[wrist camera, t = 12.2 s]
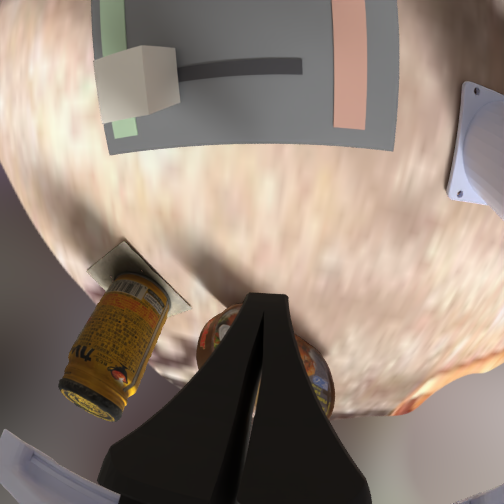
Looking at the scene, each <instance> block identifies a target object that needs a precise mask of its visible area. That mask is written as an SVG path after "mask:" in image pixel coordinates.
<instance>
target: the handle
mask: <svg viewBox="0 0 504 504" xmlns="http://www.w3.org/2000/svg"><path fill="white" fill-rule="evenodd" d="M93 62H94V71H95V80H96V87H97V95H98V101H99V108H100V114H101V119H102V124H105V123H109V122H114V121H118V120H123V119H128V118H133V117H139V116H144V115H150V114H152V113H155V112H157V111H160V110H162V109H165V108H167V107H170V106H173V105H175V104H178V103H180V94H179V84H178V74H177V63H176V51H175V48H171V47H160V46H146V45H141V46H137V47H133V48H130V49H127V50H123V51H120V52H117V53H114V54H111V55H108V56H105V57H102V58H100V59H97V60H94V61H93Z"/></svg>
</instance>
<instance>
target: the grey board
mask: <svg viewBox="0 0 504 504" xmlns="http://www.w3.org/2000/svg"><path fill="white" fill-rule="evenodd" d="M91 13H92V35H93V49H94V60H97V59H100V58H102V57H105V56H108V55H111V54H114V53H117V52H120V51H123V50H127V49H130V48H133V47H137V46H141V45H146V46H160V47H171V48H175V51H176V63H177V74H178V84H179V94H180V103H178V104H175V105H173V106H170V107H167V108H165V109H162V110H160V111H157V112H155V113H152V114H150V115H144V116H139V117H133V118H128V119H123V120H118V121H114V122H109V123H105V124H104V130H105V135H106V140H107V145H108V150H109V154H110V155H116V154H122V153H130V152H137V151H146V150H154V149H164V148H175V147H187V146H202V145H221V144H310V145H329V146H344V147H356V148H367V149H376V150H385V151H393V150H394V141H395V132H396V121H397V108H398V91H399V25H398V9H397V0H91Z"/></svg>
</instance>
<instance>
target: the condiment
mask: <svg viewBox="0 0 504 504" xmlns="http://www.w3.org/2000/svg"><path fill="white" fill-rule="evenodd" d="M141 270H142V271H143V272H142V271H141ZM87 273H88V274H89V275H90V276H91V277H92V278H93V279H94V280H95V281H96V282H97V283H98V284H99V285H100V286H101V287H102V288H103V289H104V290H105V291H106V292H105V294H104V295H103V297H102V298H101V300H100V302H99V303H98V304H97V306H96V308H95V310H94V312H93V313H92V315H91V316H90V318H89V320H88V321H87V323H86V325H85V326H84V328H83V330H82V331H81V333H80V334H79V336H78V338H77V340H76V341H75V343H74V345H73V347H72V349H71V351H70V352H69V357H68V358H69V363H68V365H67V366H66V368H65V373H64V376H63V378H62V379H61V380H60V381H59V386H58V387H59V389H60V391H61V392H62V393H63V395H64V396H65V397H67V398H68V399H69V400H70V401H72V402H73V403H74V404H75V405H77V406H78V407H80V408H82V409H84V410H85V411H87V412H89V413H91V414H93V415H95V416H97V417H99V418H102V419H105V420H108V421H115V422H116V421H118V420H119V419H120V418H121V416H122V412H123V409H124V406H126V404H127V398H128V397H129V396H131V395H133V394H134V393H135V392H136V391H137V388H138V386H139V384H140V380H141V378H142V377H143V374H144V372H145V369H146V365H147V363H148V361H149V358H150V357H151V355H152V352H153V349H154V347H155V345H156V343H157V340H158V337H159V335H160V334H161V330H162V327H163V325H164V324H165V321H166V319H167V318H168V317H171V316H173V315H176V314H179V313H182V312H185V311H188V310H190V309H192V308H191V307H190V306H189V305H188V304H187V303H186V302H185V301H184V300H183V299H182V298H181V297H180V296H179V295H178V294H177V293H175V291H174V290H173V289H172V288H171V287H170V286H169V285H168V284H166V282H165V281H164V280H163V279H162V278H160V277H159V276H158V274H156V273H155V272H153V271H152V270H151V268H150V267H149V266H148V265H147V264H146V263H145V262H144V260H143V259H142V258H141V257H140V256H139V255H138V254H136V253H135V252H134V251H133V250H132V249H131V248H130V247H129V246H128V244H127V243H126V242H125V241H123V242H122V243H121V244H119V245H118V246H117V247H115V248H114V249H113V250H112V251H110V252H109V253H108V254H106V255H105V256H104V257H103V258H101V259H100V260H99V261H98V262H97V263H96V264H94V265H93V266H92V267H91V268H90V269H89V270H88V271H87ZM110 276H112V279H111V277H110ZM112 280H113V282H112Z"/></svg>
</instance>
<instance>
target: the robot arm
mask: <svg viewBox="0 0 504 504" xmlns="http://www.w3.org/2000/svg"><path fill="white" fill-rule="evenodd" d="M475 88H476V90H477V93H476V94H475V93H474V89H475ZM459 191H461V192H460V194H459V195H457V193H458V192H459ZM446 193H447V196H448V197H449V198H450V199H452V200H457V201H464V202H471V203H477V204H483V205H489V206H490V207H491V208H492V209H493V210H494V211H495V212H496V213H497V214H498V216H499V217H500V218H501V219H502V220H503V221H504V95H502V94H500V93H498V92H496V91H493V90H491V89H488V88H486V87H483V86H481V85H478V84H476V83H473V82H470V81H465V82H464V83H463V84H462V94H461V106H460V116H459V124H458V132H457V139H456V145H455V151H454V157H453V162H452V167H451V172H450V177H449V182H448V186H447V190H446ZM261 374H262V375H261ZM260 379H261V381H260ZM259 383H260V387H259ZM258 387H259V393H258V399H257V405H256V410H255V416H254V421H253V426H252V431H251V437H250V441H249V435H250V427H251V420H252V414H253V409H254V405H255V400H256V396H257V392H258ZM248 442H249V446H248ZM247 450H248V451H247ZM97 481H98V483H99V484H100V485H102V486H103V487H101V486H99V485H97V484H95V483H93V482H91V481H89V480H87V479H85V478H83V477H81V476H79V475H77V474H75V473H73V472H72V471H70V470H68V469H66V468H64V467H63V466H61V465H60V464H58V463H56V462H55V460H54V459H52V458H51V457H49V456H47V455H46V454H44V453H43V452H41V451H40V450H38V449H36V448H35V447H33V446H31V445H29V444H27V443H25V442H24V441H22V440H21V439H19V438H18V437H17V436H15V435H14V434H12V433H11V432H9V431H8V430H6V429H4V431H3V433H2V435H1V438H0V483H1V484H2V485H3V487H4V488H5V489H7V491H8V492H9V493H10V494H11V495H12V496H13V497H14V498H15V499H16V500H17V501H18V502H19V504H372V500H371V494H370V490H369V487H368V483H367V481H366V478H365V477H364V475H363V474H362V473H361V471H360V470H359V469H358V467H357V465H356V464H355V463H354V461H353V460H352V458H351V457H350V455H349V454H348V452H347V450H346V449H345V447H344V446H343V444H342V442H341V441H340V439H339V438H338V436H337V434H336V432H335V430H334V429H333V427H332V425H331V423H330V421H329V419H328V418H327V416H326V414H325V412H324V410H323V408H322V406H321V404H320V402H319V400H318V397H317V395H316V393H315V391H314V388H313V386H312V384H311V381H310V379H309V376H308V374H307V371H306V369H305V366H304V363H303V360H302V358H301V355H300V352H299V348H298V345H297V342H296V338H295V335H294V331H293V327H292V322H291V318H290V312H289V303H288V296H287V295H285V294H266V293H249V294H247V295H246V298H245V300H244V302H243V304H242V306H241V308H240V310H239V312H238V314H237V316H236V317H235V319H234V321H233V323H232V324H231V326H230V327H229V329H228V331H227V332H226V334H225V335H224V337H223V338H222V340H221V341H220V343H219V344H218V346H217V347H216V348H215V350H214V351H213V352H212V354H211V355H210V357H209V358H208V359H207V361H206V362H205V363H204V364H203V366H202V367H201V368H200V369H199V371H198V372H197V373H196V374H195V375H194V376H193V377H192V379H191V380H190V381H189V382H188V383H187V384H186V385H185V386H184V387H183V388H182V389H181V390H180V391H179V392H178V394H177V395H175V396H174V397H173V398H172V399H171V400H170V401H169V402H168V403H167V404H166V405H165V406H164V407H163V408H162V409H160V410H159V411H158V412H157V413H156V414H154V415H153V416H152V417H151V418H150V419H148V420H147V421H146V422H145V423H143V424H142V425H141V426H140V427H138V428H137V429H135V430H134V431H133V432H131V433H130V434H128V435H127V436H125V437H124V438H122V439H121V440H119V441H118V442H116V443H115V444H113V445H112V446H111V447H110V449H109V451H108V453H107V455H106V456H105V459H104V461H103V464H102V467H101V470H100V473H99V476H98V479H97ZM104 487H105V488H104ZM106 488H107V489H106ZM108 489H109V490H108ZM110 490H112V491H110ZM113 491H114V492H113ZM115 492H116V493H115ZM117 493H118V494H117ZM120 494H121V495H120ZM452 504H504V484H502V485H499V486H497V487H495V488H493V489H490V490H488V491H485V492H483V493H478V494H476V495H473V496H470V497H467V498H465V499H463V500H460V501H457V502H454V503H452Z"/></svg>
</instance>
